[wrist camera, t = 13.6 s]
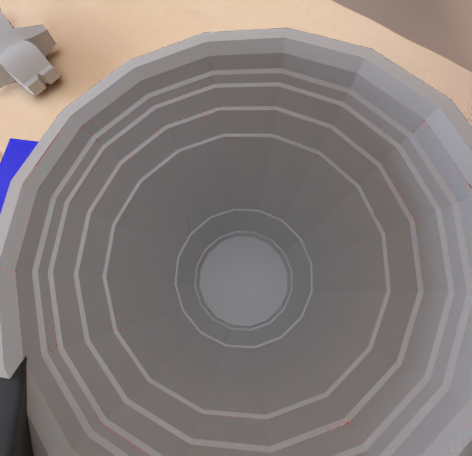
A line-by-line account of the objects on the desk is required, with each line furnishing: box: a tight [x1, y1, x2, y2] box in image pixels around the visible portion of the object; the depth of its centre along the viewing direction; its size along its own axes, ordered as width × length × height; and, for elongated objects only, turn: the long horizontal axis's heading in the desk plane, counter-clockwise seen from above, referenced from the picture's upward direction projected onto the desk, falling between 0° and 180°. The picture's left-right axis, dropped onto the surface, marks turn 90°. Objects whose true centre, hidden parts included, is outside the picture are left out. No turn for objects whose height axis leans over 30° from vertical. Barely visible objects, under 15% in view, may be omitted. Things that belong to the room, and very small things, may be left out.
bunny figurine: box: [0, 9, 61, 96], centre depth 33 cm, size 10×5×15 cm
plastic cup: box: [0, 28, 472, 456], centre depth 11 cm, size 11×11×12 cm
